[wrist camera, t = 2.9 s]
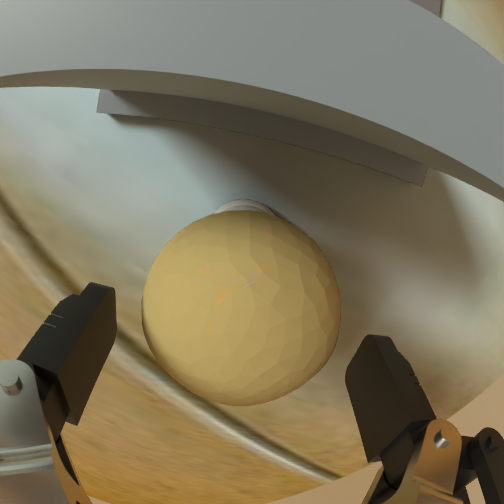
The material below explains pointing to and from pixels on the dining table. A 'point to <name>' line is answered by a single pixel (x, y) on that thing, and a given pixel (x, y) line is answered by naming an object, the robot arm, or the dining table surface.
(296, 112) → the screen
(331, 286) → the yellow light bulb
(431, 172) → the dining table surface
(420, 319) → the dining table surface
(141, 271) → the dining table surface
